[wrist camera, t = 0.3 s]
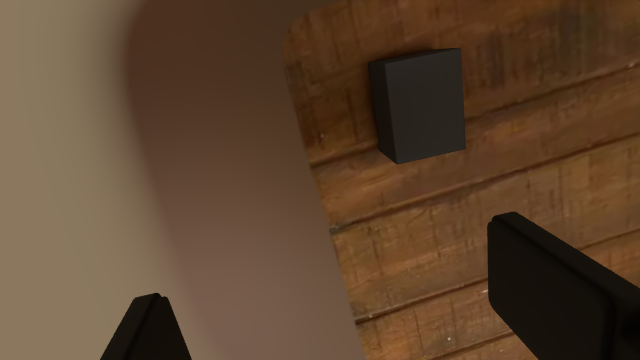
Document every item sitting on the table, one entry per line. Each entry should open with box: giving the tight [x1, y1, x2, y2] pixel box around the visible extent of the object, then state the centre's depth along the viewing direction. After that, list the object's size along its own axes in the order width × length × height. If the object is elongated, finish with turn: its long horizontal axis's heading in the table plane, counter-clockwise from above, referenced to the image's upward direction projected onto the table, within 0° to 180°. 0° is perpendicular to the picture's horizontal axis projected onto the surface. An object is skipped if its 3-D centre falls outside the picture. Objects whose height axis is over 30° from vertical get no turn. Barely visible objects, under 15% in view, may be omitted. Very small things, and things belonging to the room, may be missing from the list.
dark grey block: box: [368, 48, 466, 164], centre depth 23 cm, size 6×4×4 cm
